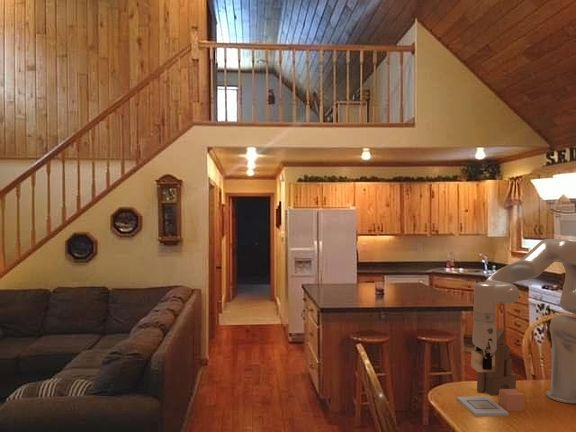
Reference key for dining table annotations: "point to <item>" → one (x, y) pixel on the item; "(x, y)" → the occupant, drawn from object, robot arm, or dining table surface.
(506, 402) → the rust block
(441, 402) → the dining table surface
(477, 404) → the board
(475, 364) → the birch block
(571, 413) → the dining table surface
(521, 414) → the dining table surface
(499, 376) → the wooden toy
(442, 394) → the dining table surface
